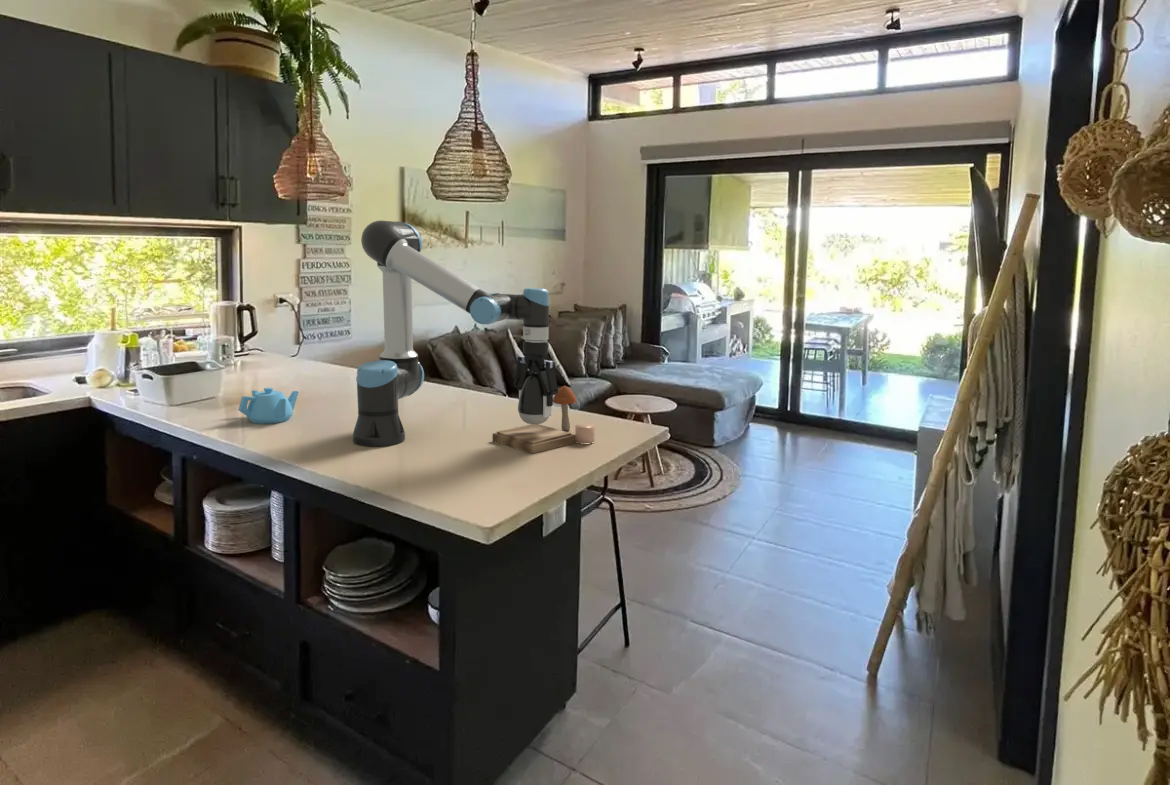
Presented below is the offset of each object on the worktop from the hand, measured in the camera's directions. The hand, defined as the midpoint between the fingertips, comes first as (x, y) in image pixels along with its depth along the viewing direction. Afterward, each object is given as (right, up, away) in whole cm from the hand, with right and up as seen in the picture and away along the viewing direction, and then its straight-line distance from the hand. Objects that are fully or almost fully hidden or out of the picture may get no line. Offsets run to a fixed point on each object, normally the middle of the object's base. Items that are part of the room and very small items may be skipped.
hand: (534, 413), depth 218 cm
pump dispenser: (0, -3, +1) cm, 3 cm away
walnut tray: (0, -9, +2) cm, 9 cm away
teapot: (-89, -3, +19) cm, 91 cm away
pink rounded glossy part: (+15, -9, +4) cm, 18 cm away
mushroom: (+8, -6, +17) cm, 20 cm away
